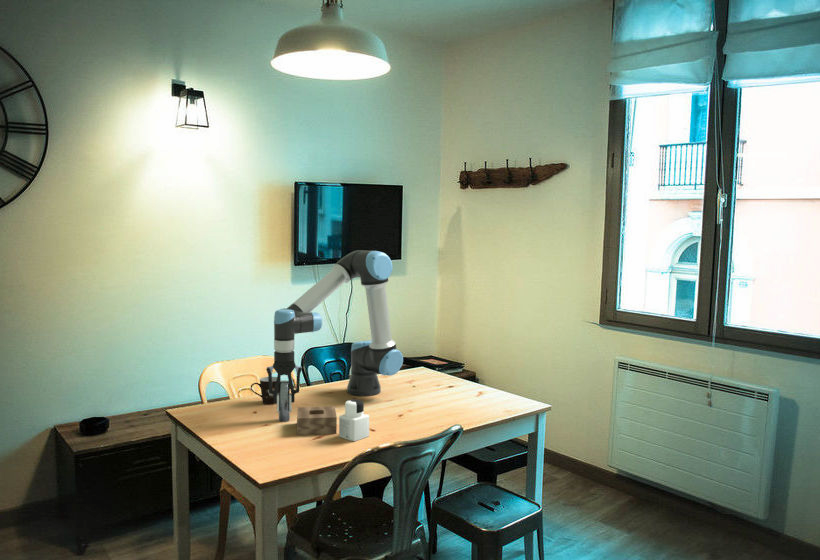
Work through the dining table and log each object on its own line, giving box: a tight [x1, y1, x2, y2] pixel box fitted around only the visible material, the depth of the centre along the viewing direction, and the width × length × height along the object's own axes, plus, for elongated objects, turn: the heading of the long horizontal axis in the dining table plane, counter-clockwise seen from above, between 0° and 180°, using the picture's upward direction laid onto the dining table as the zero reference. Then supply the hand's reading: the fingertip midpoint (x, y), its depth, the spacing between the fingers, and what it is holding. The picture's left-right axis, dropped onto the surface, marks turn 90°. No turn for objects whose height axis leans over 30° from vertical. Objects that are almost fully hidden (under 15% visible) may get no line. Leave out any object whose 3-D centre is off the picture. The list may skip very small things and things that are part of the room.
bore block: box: [296, 405, 338, 436], centre depth 234 cm, size 14×14×6 cm
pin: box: [278, 380, 291, 423], centre depth 243 cm, size 4×4×15 cm
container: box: [338, 398, 370, 442], centre depth 226 cm, size 8×8×13 cm
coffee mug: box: [250, 376, 282, 406], centre depth 267 cm, size 12×9×10 cm
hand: (284, 410), depth 243 cm, fingers closed on pin, 4 cm apart
